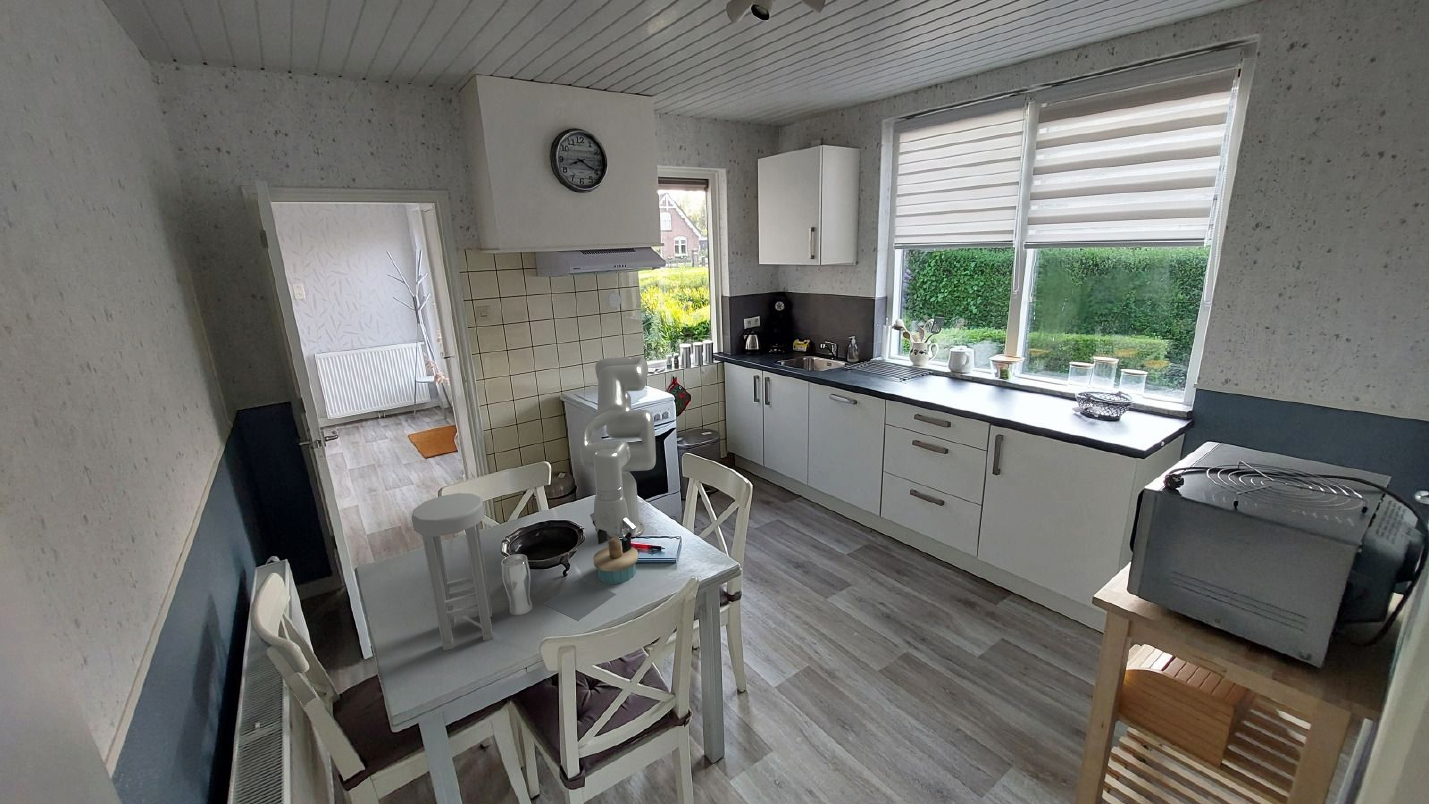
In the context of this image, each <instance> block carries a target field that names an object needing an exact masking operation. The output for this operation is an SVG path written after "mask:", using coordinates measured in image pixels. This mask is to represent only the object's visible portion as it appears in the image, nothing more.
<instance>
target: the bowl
mask: <svg viewBox="0 0 1429 804" xmlns="http://www.w3.org/2000/svg"><path fill="white" fill-rule="evenodd" d="M636 568H637V567H636V563H635V564H634V565H633V566H631V567H629V568H627V569H624V570H620V571H613V572H609V571H602V570H599V569H597V577H598V579H599V580H600V582H602V583H605V584H609V585H611V584H613V585H616V584H621V583H625V582H627V581H630V580H631V579H633V578H634V577H635V575H636V574H637V569H636Z"/></svg>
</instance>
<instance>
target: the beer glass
mask: <svg viewBox="0 0 1429 804" xmlns="http://www.w3.org/2000/svg"><path fill="white" fill-rule="evenodd" d="M500 566H501V575H502V582H503V583H502V584H503V586H504V589H505V591H506V594H507V598H508V601H509V610H508V611H509V614H511V615H513V616H521V615H524V614H527V613H529V612H530V611H531V610H533V608H534V607H533V602H532V600H531V596H530V595H531V593H530V592H531V570H530V565H529V561H528V557H527V555H525V554H522V553H517V554H511V555H508V556H506V557H504V558H503V559H502V560H501V563H500Z"/></svg>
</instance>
